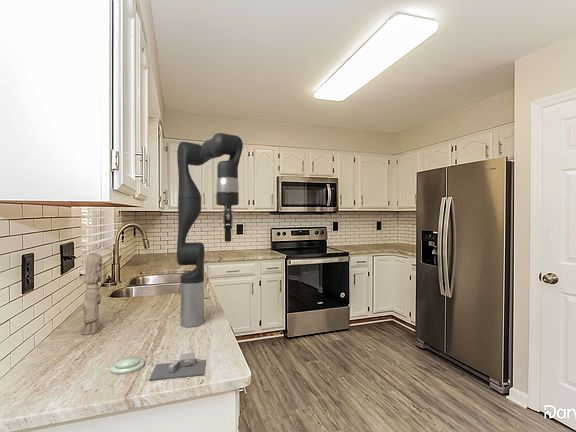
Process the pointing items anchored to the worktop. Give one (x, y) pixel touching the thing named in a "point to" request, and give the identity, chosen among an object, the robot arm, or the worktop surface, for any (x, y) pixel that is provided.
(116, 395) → the worktop surface
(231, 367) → the worktop surface
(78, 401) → the worktop surface
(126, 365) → the dish
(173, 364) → the lighter
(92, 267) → the sculpture
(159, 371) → the mat
